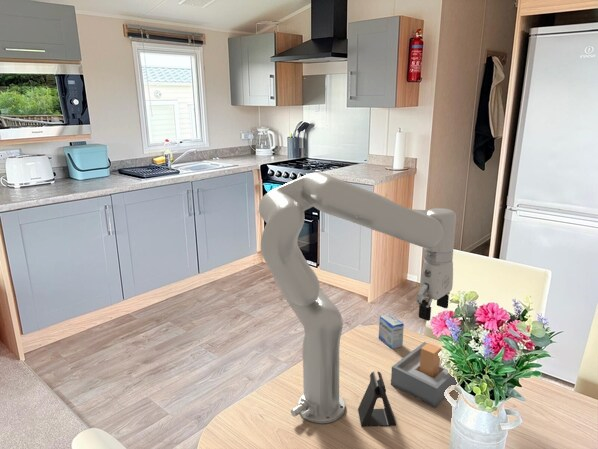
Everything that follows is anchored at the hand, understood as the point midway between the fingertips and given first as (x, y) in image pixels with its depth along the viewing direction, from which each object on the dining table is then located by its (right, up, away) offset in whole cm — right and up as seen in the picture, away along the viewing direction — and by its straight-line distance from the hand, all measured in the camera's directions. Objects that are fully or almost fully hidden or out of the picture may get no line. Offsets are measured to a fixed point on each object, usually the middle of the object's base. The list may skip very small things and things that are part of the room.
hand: (433, 312), depth 120 cm
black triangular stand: (-17, -26, -8) cm, 32 cm away
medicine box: (-6, -16, +27) cm, 32 cm away
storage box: (+1, -21, +6) cm, 22 cm away
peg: (0, -20, +6) cm, 21 cm away
